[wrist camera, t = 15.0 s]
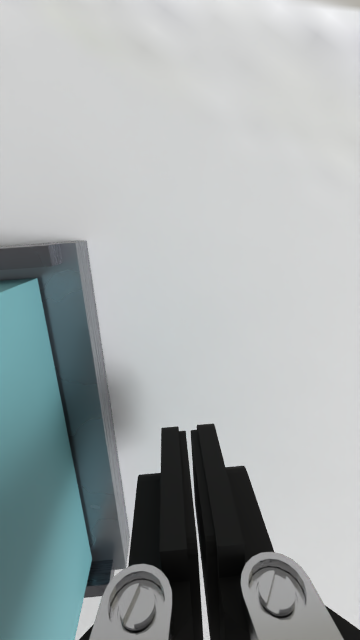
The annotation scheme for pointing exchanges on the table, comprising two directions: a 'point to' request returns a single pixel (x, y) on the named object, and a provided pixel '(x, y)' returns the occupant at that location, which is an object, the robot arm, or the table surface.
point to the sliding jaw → (36, 481)
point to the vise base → (80, 393)
